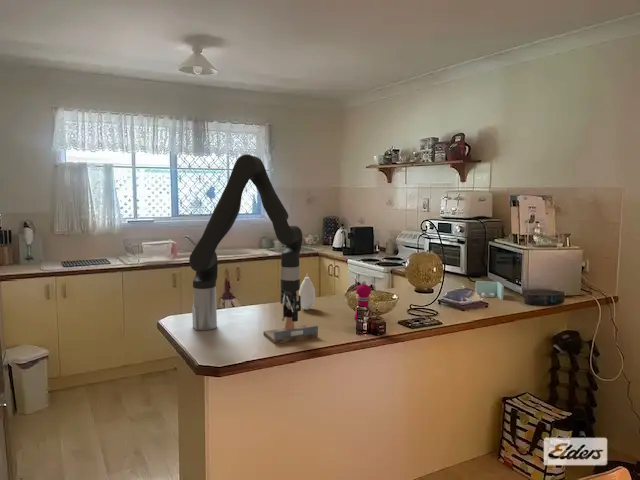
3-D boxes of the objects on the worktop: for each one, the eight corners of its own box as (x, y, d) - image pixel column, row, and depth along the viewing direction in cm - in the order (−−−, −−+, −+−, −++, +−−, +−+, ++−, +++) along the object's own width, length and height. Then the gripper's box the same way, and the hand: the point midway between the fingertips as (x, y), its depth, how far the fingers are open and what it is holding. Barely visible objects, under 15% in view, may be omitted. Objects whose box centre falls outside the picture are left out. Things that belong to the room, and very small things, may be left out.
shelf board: (274, 344, 181) (274, 340, 181) (263, 334, 191) (263, 331, 191) (317, 337, 189) (317, 333, 189) (304, 328, 200) (304, 325, 199)
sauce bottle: (315, 311, 226) (315, 273, 224) (298, 311, 226) (298, 273, 224) (315, 307, 234) (315, 270, 231) (299, 307, 234) (299, 270, 232)
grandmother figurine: (287, 335, 186) (288, 303, 184) (280, 333, 188) (280, 301, 187) (300, 330, 192) (300, 299, 191) (292, 328, 194) (293, 297, 193)
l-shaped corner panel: (475, 294, 264) (475, 281, 263) (498, 295, 262) (498, 281, 261) (478, 299, 252) (479, 285, 251) (503, 300, 250) (503, 286, 249)
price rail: (274, 340, 181) (274, 332, 180) (274, 339, 181) (274, 331, 181) (318, 333, 189) (318, 326, 188) (317, 333, 189) (317, 325, 189)
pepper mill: (353, 325, 204) (353, 279, 202) (370, 325, 205) (370, 278, 202) (355, 331, 197) (356, 282, 194) (373, 330, 197) (374, 282, 195)
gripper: (274, 275, 192) (274, 315, 194) (288, 281, 179) (288, 324, 181) (291, 273, 195) (291, 312, 197) (307, 280, 183) (306, 322, 185)
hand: (290, 318), depth 189 cm, fingers open, 8 cm apart
